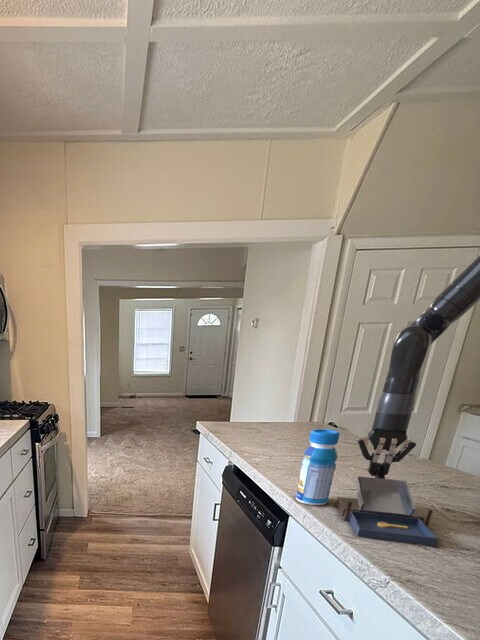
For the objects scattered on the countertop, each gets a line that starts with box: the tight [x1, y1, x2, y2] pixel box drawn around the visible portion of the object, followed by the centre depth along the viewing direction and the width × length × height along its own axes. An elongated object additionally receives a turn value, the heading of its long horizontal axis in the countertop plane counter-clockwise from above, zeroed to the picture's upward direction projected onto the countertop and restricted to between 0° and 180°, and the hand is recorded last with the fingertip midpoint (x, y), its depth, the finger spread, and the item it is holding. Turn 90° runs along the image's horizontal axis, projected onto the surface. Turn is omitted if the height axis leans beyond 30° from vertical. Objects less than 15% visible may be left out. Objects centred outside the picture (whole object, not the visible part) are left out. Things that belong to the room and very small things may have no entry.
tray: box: [348, 511, 439, 547], centre depth 96 cm, size 15×12×2 cm
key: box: [377, 522, 408, 529], centre depth 97 cm, size 6×3×1 cm, turn 69°
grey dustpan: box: [354, 462, 416, 516], centre depth 105 cm, size 11×18×2 cm, turn 159°
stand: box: [335, 496, 434, 528], centre depth 104 cm, size 17×13×5 cm
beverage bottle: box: [295, 428, 340, 506], centre depth 111 cm, size 8×8×20 cm
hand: (376, 475), depth 109 cm, fingers closed, pressing on grey dustpan
